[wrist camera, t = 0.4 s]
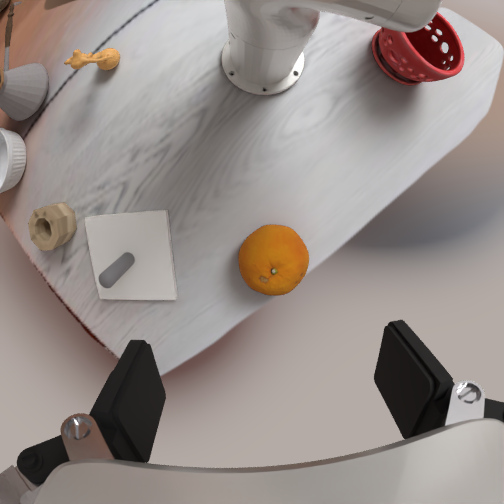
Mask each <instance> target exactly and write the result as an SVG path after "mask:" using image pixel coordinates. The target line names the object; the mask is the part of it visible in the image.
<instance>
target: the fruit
mask: <svg viewBox="0 0 504 504" xmlns="http://www.w3.org/2000/svg"><path fill="white" fill-rule="evenodd" d="M238 261H239V269H240V272H241V275H242V277H243V279H244V280H245V282H246V283H247V285H248V286H249V287H250V288H252V289H253V290H255V291H258V292H260V293H263V294H266V295H284V294H286V293H289V292H290V291H292V290H293V289H294V288H295V287H296V286H297V285H298V284H299V283H300V281H301V280H302V279H303V277H304V276H305V274H306V271H307V268H308V264H309V254H308V250H307V248H306V246H305V244H304V242H303V241H302V239H301V238H300V237H299V235H298V234H297V233H296V232H295V231H294V230H293V229H291V228H289V227H286V226H281V225H265V226H262V227H260V228H259V229H257V230H256V231H254V232H253V233H252V234H250V235H249V236H248V237H247V238H246V240H245V241H244V243H243V244H242V246H241V248H240V251H239V257H238Z"/></svg>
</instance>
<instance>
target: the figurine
mask: <svg viewBox="0 0 504 504" xmlns="http://www.w3.org/2000/svg"><path fill="white" fill-rule="evenodd" d="M70 59H71V60H70ZM119 60H120V54H119V52H118V51H117V50H116V49H113V48H107V49H105V50H103V51H101V52H98V53H97V54H94V55H93V54H92V53H89V54H88V55H87V54H84V53H81V51H80V50H79V49H78V50H75V51H74V52H73V57H71V58H69V59H68V60H67V61H66V62H65V63H64V64H65V65H67V64H71V67H72V68H73V69H79V68H82V67H83V66H85V65H87V64H88V63H96V62H97V65H98V67H99V68H100V69H102V70H111V69H113V68H114V67H116V66H117V64H118V63H119Z"/></svg>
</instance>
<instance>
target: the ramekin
mask: <svg viewBox="0 0 504 504" xmlns="http://www.w3.org/2000/svg"><path fill="white" fill-rule="evenodd" d="M26 157H27V155H26V147H25V144H24V141H23V139H22V138H21V136H19V134H17V133H16V132H13V131H9V130H5V129H3V128H1V127H0V193H2V192H4V191H7V190H9V189H11V188H12V187H14V186H15V185H16V184H17V183H18V182H19V180H20V179H21V177H22V175H23V172H24V170H25V166H26Z"/></svg>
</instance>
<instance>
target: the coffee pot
mask: <svg viewBox="0 0 504 504" xmlns="http://www.w3.org/2000/svg"><path fill="white" fill-rule="evenodd" d="M16 3H18V4H20V3H21V2H16ZM16 3H12V4H11V6H10V9H9V10H10V12H9V14H8V17H9V18H8V22H7V26H6V35H5V59H4V71H3V69H2V68H1V67H0V108H1V109H2V110H3V111H4V112H5V113H6V114H7V115H8V116H10V117H11V118H12V119H14V120H17V121H21V120H24V119H27V118H28V117H30V116H31V115H33V114H34V113H35V112H36V111H37V110H38V109H39V107H40V106H41V104H42V103H43V101H44V99H45V97H46V94H47V90H48V84H49V77H48V73H47V71H46V69H45V68H44V66H43V65H41V64H39V63H31V64H27V65H24V66H20V67H17V68H14V69H11V70H9V46H10V39H11V32H12V26H13V25H12V16H13V15H14V13H13V9H14V6H15V5H18V4H16ZM14 4H15V5H14Z"/></svg>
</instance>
